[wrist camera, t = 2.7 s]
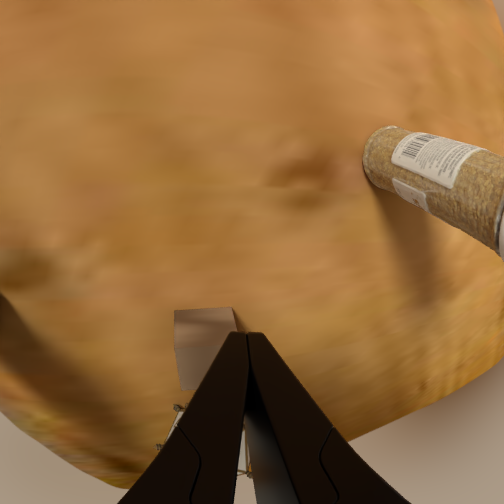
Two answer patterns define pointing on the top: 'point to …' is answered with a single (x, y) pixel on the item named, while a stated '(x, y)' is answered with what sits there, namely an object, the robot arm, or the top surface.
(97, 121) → the top surface
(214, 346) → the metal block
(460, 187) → the sprinkles bottle
